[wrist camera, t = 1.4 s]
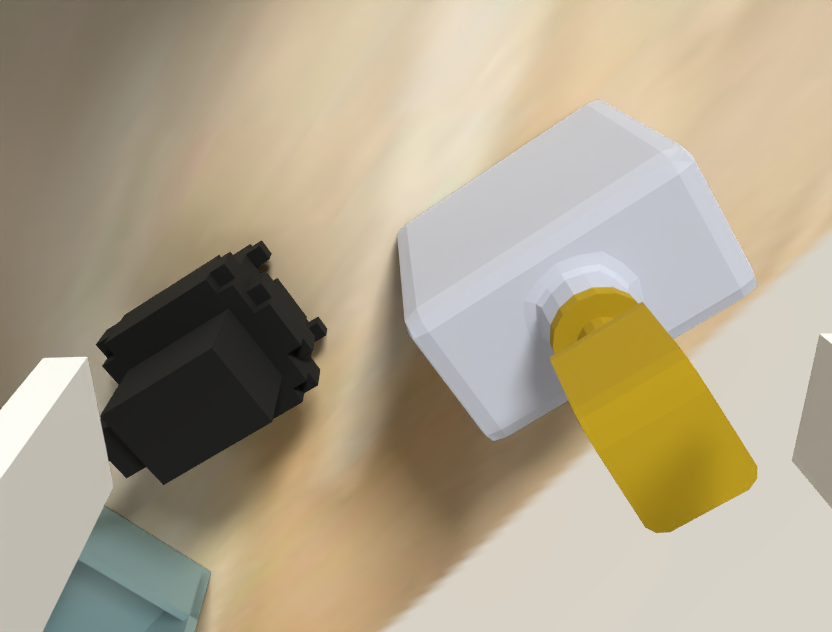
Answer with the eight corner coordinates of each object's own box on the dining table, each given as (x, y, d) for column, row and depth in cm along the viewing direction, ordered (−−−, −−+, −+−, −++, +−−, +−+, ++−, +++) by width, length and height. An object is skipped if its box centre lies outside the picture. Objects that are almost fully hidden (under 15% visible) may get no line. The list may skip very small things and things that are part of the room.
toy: (41, 358, 43) (-49, 462, 34) (254, 222, 41) (219, 295, 32) (131, 455, 46) (71, 576, 37) (336, 333, 43) (326, 431, 34)
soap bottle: (460, 323, 44) (544, 667, 22) (391, 227, 41) (409, 508, 20) (658, 200, 41) (965, 448, 20) (597, 90, 39) (871, 239, 17)
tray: (-34, 589, 49) (-86, 667, 44) (61, 479, 46) (19, 548, 41) (113, 670, 52) (82, 752, 47) (210, 571, 49) (190, 647, 44)
